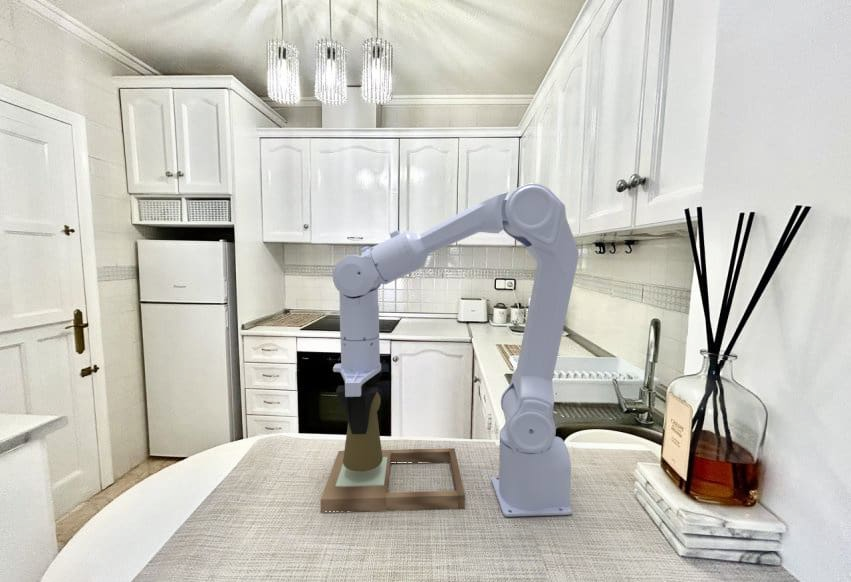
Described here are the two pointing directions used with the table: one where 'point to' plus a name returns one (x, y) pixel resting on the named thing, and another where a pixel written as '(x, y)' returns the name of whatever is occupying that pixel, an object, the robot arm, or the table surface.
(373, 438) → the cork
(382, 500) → the well board
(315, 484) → the table surface
